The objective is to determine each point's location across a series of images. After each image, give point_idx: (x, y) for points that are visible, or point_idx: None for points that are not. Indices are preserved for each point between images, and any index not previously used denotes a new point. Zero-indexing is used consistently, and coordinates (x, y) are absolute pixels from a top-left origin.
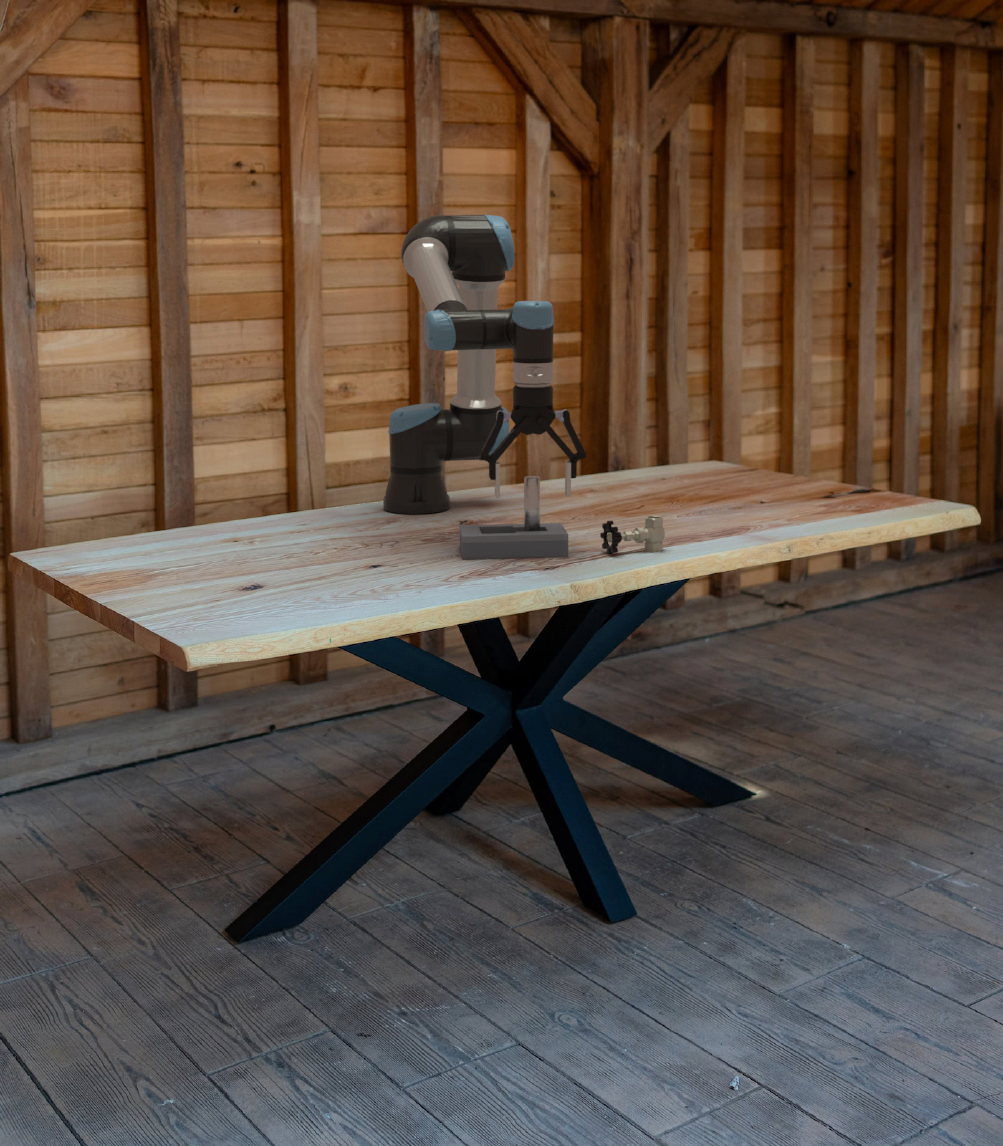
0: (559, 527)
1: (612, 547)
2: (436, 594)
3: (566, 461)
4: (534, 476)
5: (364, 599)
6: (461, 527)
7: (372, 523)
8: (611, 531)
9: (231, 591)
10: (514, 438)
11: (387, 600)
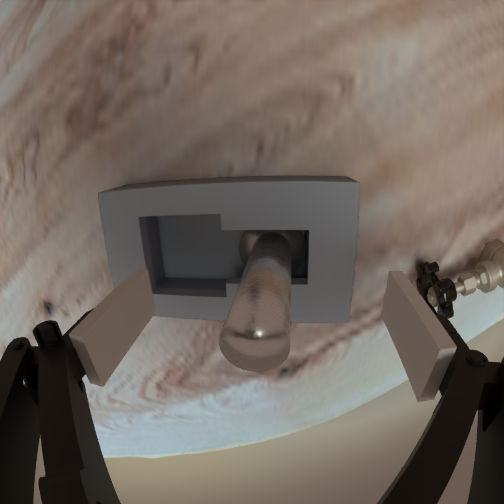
0: (345, 245)
1: None
2: (149, 432)
3: (432, 373)
4: (267, 331)
5: (94, 422)
6: (104, 218)
7: (26, 13)
8: None
9: None
10: (113, 496)
11: (113, 431)
